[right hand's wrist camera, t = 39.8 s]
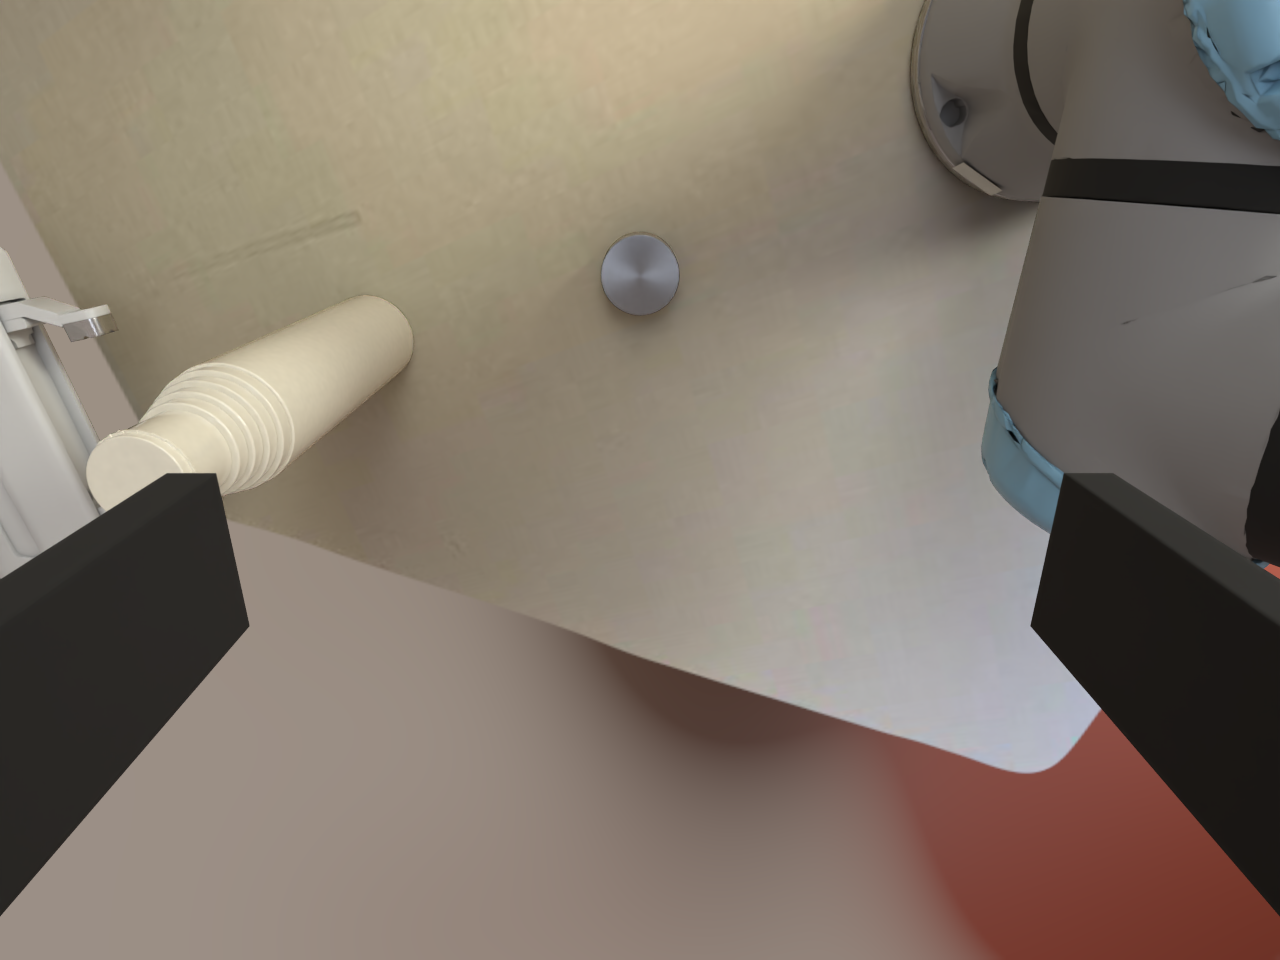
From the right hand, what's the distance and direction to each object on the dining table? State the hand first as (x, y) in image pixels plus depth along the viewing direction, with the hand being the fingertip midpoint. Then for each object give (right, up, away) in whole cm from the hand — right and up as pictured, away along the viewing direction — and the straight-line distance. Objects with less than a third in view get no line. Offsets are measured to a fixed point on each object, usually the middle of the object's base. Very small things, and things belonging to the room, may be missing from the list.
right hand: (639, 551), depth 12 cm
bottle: (-17, +10, +36) cm, 41 cm away
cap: (0, +13, +33) cm, 35 cm away
